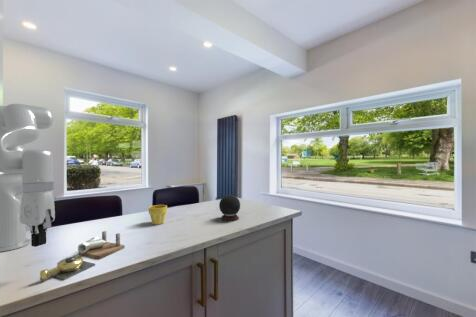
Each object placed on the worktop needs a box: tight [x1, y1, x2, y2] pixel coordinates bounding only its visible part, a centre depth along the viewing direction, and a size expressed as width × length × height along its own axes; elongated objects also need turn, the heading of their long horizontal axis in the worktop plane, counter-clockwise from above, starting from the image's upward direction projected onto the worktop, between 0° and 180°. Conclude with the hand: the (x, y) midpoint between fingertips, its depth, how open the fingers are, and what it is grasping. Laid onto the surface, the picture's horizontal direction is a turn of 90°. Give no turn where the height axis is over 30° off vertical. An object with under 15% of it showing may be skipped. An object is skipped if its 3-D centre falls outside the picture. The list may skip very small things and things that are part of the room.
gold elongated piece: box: [39, 255, 84, 281], centre depth 72 cm, size 7×12×3 cm, turn 159°
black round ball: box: [218, 194, 241, 222], centre depth 137 cm, size 13×13×15 cm
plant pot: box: [148, 204, 168, 226], centre depth 128 cm, size 10×10×10 cm
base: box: [51, 260, 96, 281], centre depth 74 cm, size 10×10×1 cm
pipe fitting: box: [77, 235, 107, 253], centre depth 88 cm, size 8×4×7 cm
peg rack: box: [77, 230, 126, 260], centre depth 89 cm, size 12×11×6 cm
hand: (38, 244), depth 71 cm, fingers closed
